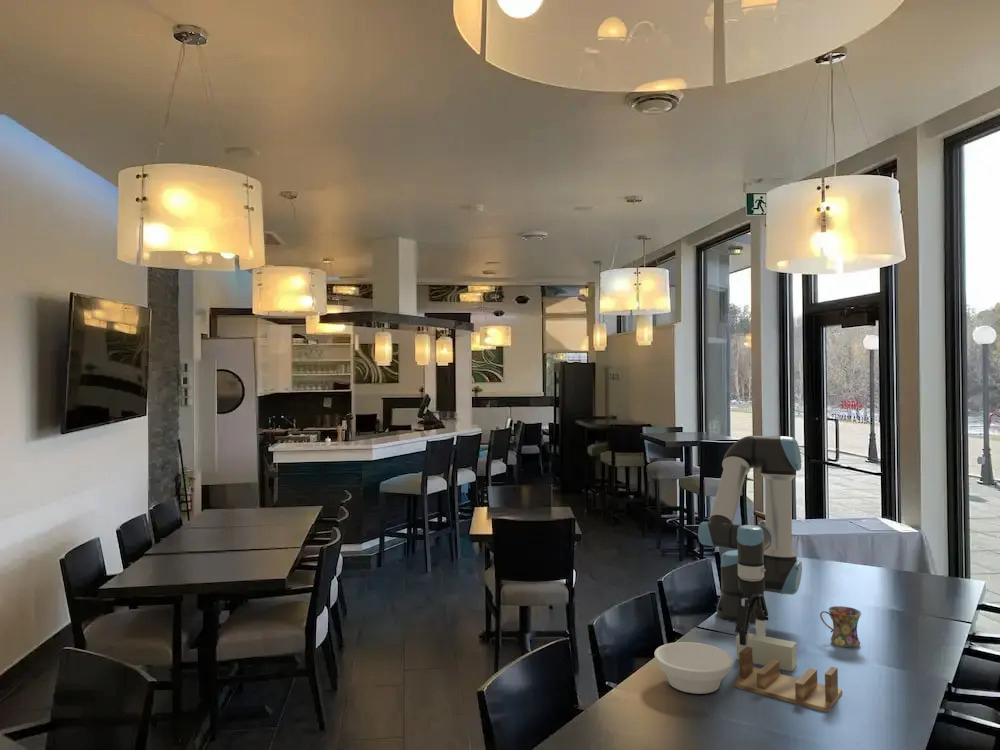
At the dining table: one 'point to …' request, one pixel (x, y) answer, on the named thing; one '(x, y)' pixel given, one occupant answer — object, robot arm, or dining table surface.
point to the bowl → (693, 666)
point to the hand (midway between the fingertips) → (752, 648)
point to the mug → (844, 625)
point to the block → (771, 651)
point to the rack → (788, 683)
